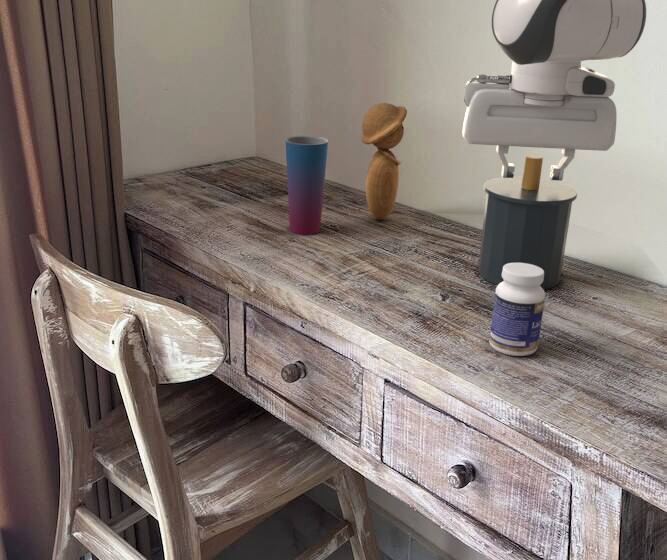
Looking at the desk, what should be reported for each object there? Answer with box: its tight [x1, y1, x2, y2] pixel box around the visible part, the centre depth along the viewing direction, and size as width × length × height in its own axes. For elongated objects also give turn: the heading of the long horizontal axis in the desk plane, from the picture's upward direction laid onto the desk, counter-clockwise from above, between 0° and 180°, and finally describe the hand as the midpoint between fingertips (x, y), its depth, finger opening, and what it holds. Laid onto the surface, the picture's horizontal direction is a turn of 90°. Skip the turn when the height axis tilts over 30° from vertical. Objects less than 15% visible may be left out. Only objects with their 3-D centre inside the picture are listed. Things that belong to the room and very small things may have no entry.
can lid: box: [483, 154, 578, 205], centre depth 113 cm, size 13×13×6 cm
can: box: [478, 193, 573, 290], centre depth 116 cm, size 12×12×12 cm
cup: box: [284, 135, 329, 236], centre depth 132 cm, size 7×7×15 cm
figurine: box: [360, 102, 408, 220], centre depth 137 cm, size 9×7×20 cm
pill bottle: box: [488, 263, 546, 357], centre depth 95 cm, size 6×6×10 cm
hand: (531, 178), depth 113 cm, fingers open, 5 cm apart
